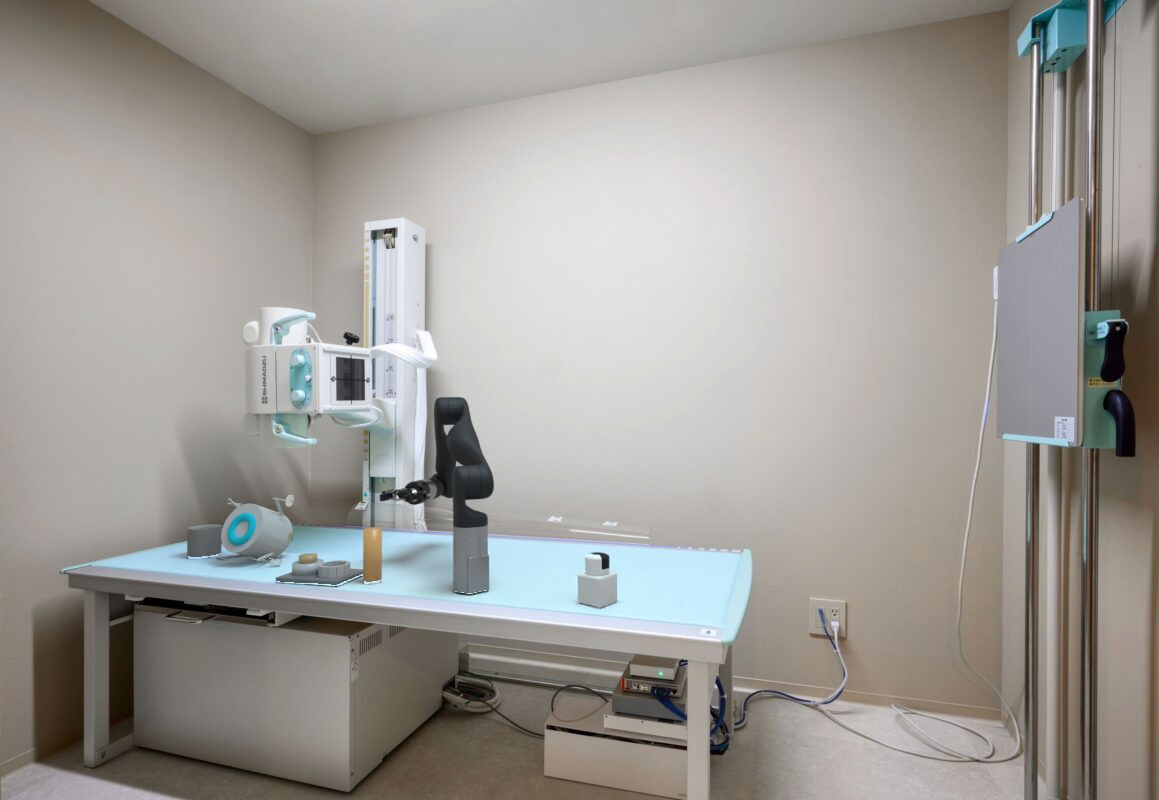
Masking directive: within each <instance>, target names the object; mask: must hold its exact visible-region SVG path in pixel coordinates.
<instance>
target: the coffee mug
mask: <svg viewBox="0 0 1159 800" xmlns="http://www.w3.org/2000/svg"><path fill="white" fill-rule="evenodd" d="M222 528H223V526H222V524H214V523H213V524H201V525H200V524H199V525H195V526H189V527H188V528H187V536H186V537H187V541H186V542H187V543H186V544H187V545H186V546H187V547H186V550H187V551H186V553H187V554H186V557H187V556H190V557H202V556H211V555H216V554H219V553H221V554H222V545H223V544H222V540H221V533H222Z"/></svg>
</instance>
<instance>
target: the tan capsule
mask: <svg viewBox="0 0 1159 800" xmlns="http://www.w3.org/2000/svg"><path fill="white" fill-rule="evenodd" d="M362 531H363V536H362V537H363V538H362V540H363V541H362V542H363V545H362V546H363V547H362V549H363V550H362V556H363V558H362V564H363V565H362V569H363V577H362V582H363V581H366V582H372V581H378V580H381V579H382V578H383V575H382V574H383V573H382V572H383V565H382V564H383V550H382V549H383V528H382V527H380V526H379V527H377V526H374V527H370V526H369V527H365V528H363V530H362ZM382 580H383V579H382Z"/></svg>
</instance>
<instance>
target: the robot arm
mask: <svg viewBox="0 0 1159 800" xmlns="http://www.w3.org/2000/svg"><path fill="white" fill-rule="evenodd" d="M470 412H471V411H470V406H469V404H468V401H467V400H466V398H465V397H460V396H446V397H445V396H443V397H441V396H440V397H437V398H436V399H435V401H434V405H433V423H434V425H433V427H434V439H435V466H434V467H435V468H434V470H435V472H436V473H434V474H433V475H432V476H431V477H430V478H427V479H418V480H413V481H410V482H408V483H406V485H405V486H404V487H402V488H397V489H394V488H393V489H389V490H382V491H381V493H380V494H379V501H380V502H385V501H390V500H391V501H393V502H399V501H403V502H405V503H408V504H409V505H412V506H414V505H415V506H416V505H420V504H423V503H427V502H430V501H431V500H435V499H438V498H439V497H440V496H442V497H444V498H446V499H452V536H453V537H452V590H454V591H457V592H464V593H474V592H479V591H484V590H489V591H490V554H489V553H488V552H489V546H488V545H489V543H488V542H489V531H488V530H489V516H488V514H487V513H486V512H483V511H479V510H476V509H474V508H471V507H470V506H468V505H467V503H466V501H472V500H484V499H489V498H490V497H492V495H493V493H494V490H495V489H494V488H495V481H494V476H493V475H494V474H493V472H492V469H491V467H490V464H488V462H487V459H486V458H485V456H484V453H483V450H482V448H481V444H480V441H479V437H478V435H477V432H476V430H475V428H474V424H473V422H472V418H471V417H472V416H471V413H470ZM445 426H452V427H450V429H449V430H448V432H446V430H445ZM457 463H458V464H460V465H457ZM397 497H398V498H397ZM454 591H453V592H454Z"/></svg>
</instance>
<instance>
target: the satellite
mask: <svg viewBox="0 0 1159 800" xmlns="http://www.w3.org/2000/svg"><path fill="white" fill-rule="evenodd" d="M227 499H228V500H229V501H230V502H227V504H229V505H231V506H234V507H235V508H234V510H233V511H231V513H230V514H228V517H226V519H225V521H224V523H223V526H222V533H221V540H222V544H221V545H223V547H224V549H225V550H226V551H228V552H229V553H233V555H232V554H230V555H220V556H218V557H215V559H216V561H219V560H220V561H222V562H225V560H231V559H241V558H251V560H253V561H257V562H261V561H262V562H267V560H263V559H268V562H270V563H269V566H272V565H278V564H280V565H281V564H282V559H281V558H279V559H278V558H277V557H278V556H280V555H282V554H283V553H284V552H285V551H286V550H287V548H288V547H290V544H291V543H292V541H293V539H294V533H295V532H294V529H293V525H292V522H291V520H290V519H289V518H288V517H287V515H285V514H284V512H283V510H282V507H281V503H280V501H285V507H291V506H292V505H293V504H294V501H295V496H294V495H293V494H288V495H287V496H286V498H285V499H284V498H283V499H282V498H278V497H272V500H274V502H275V505H276V507H277V510H278V511H276V510H273V509H270V508H267V507H264V506H262V505H261V506H260V505H259V504H256V503H244V504H243V503H239V502H238V503H237V502H235V501H233V499H231V498H230V497H228V498H227ZM269 558H271V559H269ZM276 562H277V563H276Z"/></svg>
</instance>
